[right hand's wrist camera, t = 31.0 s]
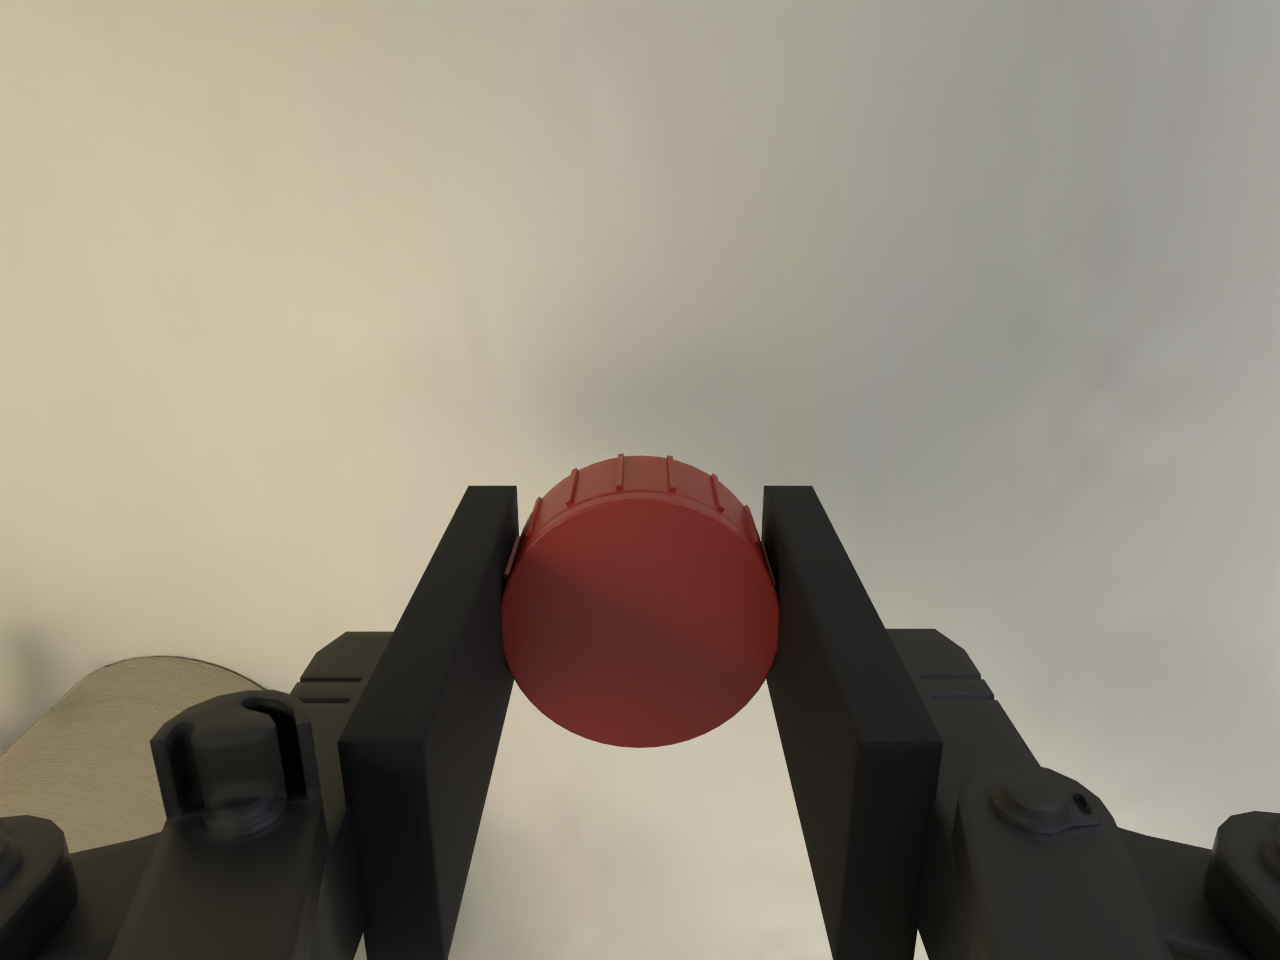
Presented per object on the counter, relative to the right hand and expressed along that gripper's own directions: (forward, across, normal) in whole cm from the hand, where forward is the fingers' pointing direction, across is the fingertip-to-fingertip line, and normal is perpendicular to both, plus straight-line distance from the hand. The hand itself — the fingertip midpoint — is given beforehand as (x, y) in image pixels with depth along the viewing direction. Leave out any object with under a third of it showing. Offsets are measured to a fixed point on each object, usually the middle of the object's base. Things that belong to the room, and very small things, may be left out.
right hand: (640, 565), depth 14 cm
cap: (-2, 0, 0) cm, 2 cm away
